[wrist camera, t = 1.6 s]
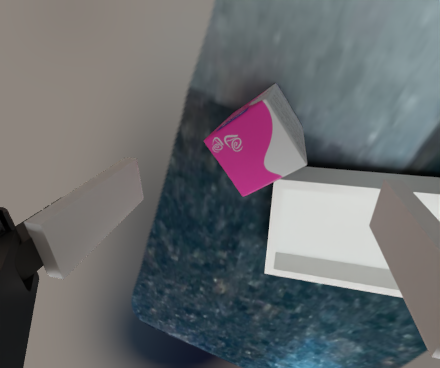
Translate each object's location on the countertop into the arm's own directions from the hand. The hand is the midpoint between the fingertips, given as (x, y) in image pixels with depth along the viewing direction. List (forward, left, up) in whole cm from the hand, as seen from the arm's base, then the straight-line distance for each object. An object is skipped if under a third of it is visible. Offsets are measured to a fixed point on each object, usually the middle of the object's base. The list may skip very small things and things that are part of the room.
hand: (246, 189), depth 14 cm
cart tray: (+11, +11, -17) cm, 23 cm away
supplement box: (0, 0, -17) cm, 17 cm away
